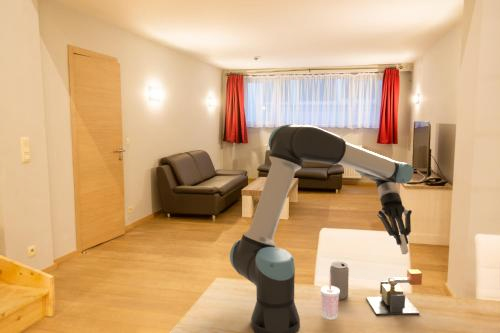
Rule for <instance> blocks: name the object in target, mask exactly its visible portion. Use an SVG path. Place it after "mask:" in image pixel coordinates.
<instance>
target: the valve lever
mask: <svg viewBox="0 0 500 333" xmlns="http://www.w3.org/2000/svg"><path fill="white" fill-rule="evenodd" d="M387 281H388V284H389V285H391V286H396V285H397V284H401V283H402V284H404V283H405V284H407V283H408V284H409V286H410V285H411V286H417V285H418V286H419V285H422V284H423V283H422V282H423V272H421V270H419V269H407V272H406V277H390V278H388V280H387Z"/></svg>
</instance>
